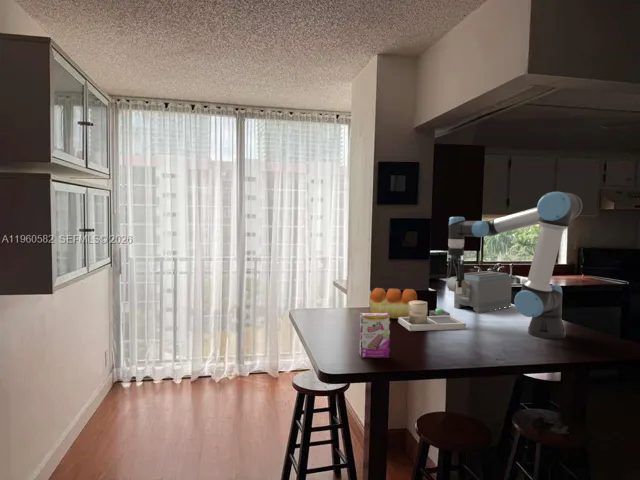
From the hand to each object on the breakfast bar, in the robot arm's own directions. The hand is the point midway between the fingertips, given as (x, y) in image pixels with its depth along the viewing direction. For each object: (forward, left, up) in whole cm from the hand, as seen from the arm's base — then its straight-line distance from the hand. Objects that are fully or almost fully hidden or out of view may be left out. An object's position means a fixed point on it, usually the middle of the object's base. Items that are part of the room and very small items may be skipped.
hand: (455, 292), depth 219 cm
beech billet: (-3, +21, -14) cm, 25 cm away
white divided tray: (-3, +14, -16) cm, 21 cm away
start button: (+11, +3, -15) cm, 19 cm away
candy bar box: (-46, +54, -16) cm, 73 cm away
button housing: (+11, +3, -16) cm, 19 cm away
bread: (+20, +25, -16) cm, 36 cm away
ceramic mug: (+1, -3, 0) cm, 3 cm away
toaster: (+33, -32, -16) cm, 49 cm away
